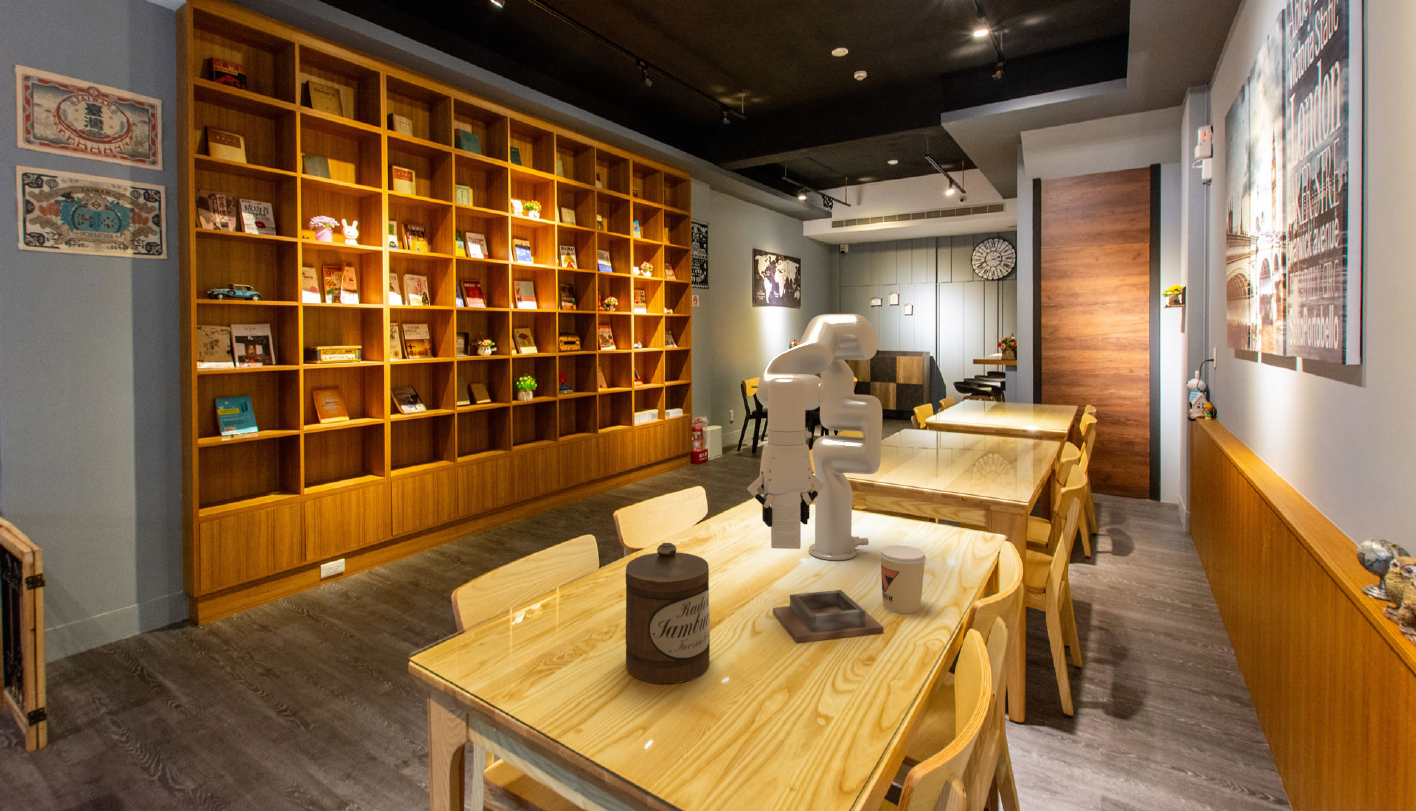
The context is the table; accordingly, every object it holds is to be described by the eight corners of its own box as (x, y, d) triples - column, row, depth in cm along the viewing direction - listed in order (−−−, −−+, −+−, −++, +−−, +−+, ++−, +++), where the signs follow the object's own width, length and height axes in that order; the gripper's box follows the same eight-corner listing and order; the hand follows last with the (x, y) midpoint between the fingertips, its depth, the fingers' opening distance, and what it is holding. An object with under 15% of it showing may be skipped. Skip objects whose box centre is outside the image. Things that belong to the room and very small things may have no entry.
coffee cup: (872, 598, 149) (874, 545, 148) (914, 596, 150) (915, 544, 148) (887, 615, 140) (889, 559, 138) (931, 614, 140) (933, 558, 139)
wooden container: (668, 694, 110) (666, 563, 107) (609, 665, 119) (606, 544, 117) (726, 661, 121) (726, 542, 118) (668, 637, 130) (667, 526, 128)
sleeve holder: (852, 604, 145) (852, 586, 145) (883, 632, 132) (883, 612, 131) (772, 613, 141) (772, 593, 141) (796, 642, 128) (796, 621, 127)
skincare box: (800, 543, 141) (800, 486, 139) (800, 549, 136) (801, 491, 135) (771, 542, 141) (771, 486, 140) (770, 548, 137) (770, 491, 136)
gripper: (820, 433, 142) (819, 516, 144) (740, 437, 138) (740, 521, 140) (833, 439, 135) (832, 526, 137) (749, 442, 131) (749, 532, 133)
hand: (785, 523), depth 138 cm, fingers closed on skincare box, 6 cm apart
